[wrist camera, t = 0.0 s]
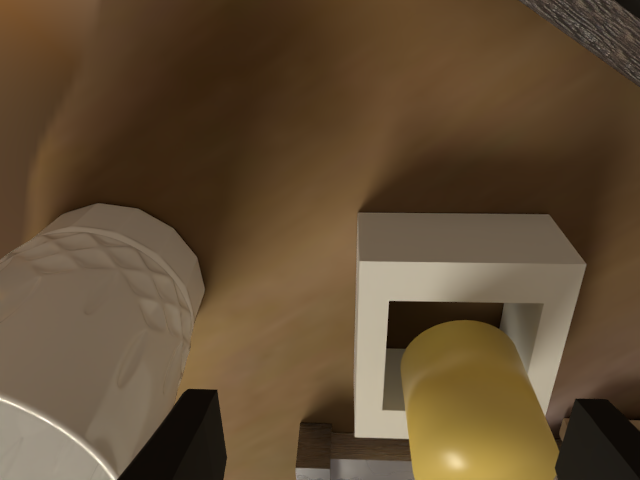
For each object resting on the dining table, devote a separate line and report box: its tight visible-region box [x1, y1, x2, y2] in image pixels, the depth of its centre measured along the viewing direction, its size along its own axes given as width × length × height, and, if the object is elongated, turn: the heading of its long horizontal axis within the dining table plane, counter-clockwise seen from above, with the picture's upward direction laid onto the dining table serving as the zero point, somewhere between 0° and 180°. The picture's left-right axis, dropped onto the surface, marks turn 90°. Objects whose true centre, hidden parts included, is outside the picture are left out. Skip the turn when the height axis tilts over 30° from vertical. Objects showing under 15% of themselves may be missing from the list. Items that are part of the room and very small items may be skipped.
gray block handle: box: [296, 423, 562, 480], centre depth 25 cm, size 4×20×2 cm, turn 91°
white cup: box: [0, 203, 205, 480], centre depth 17 cm, size 8×8×10 cm
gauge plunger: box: [400, 320, 559, 480], centre depth 16 cm, size 4×4×4 cm
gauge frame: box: [354, 213, 587, 439], centre depth 20 cm, size 8×7×4 cm
